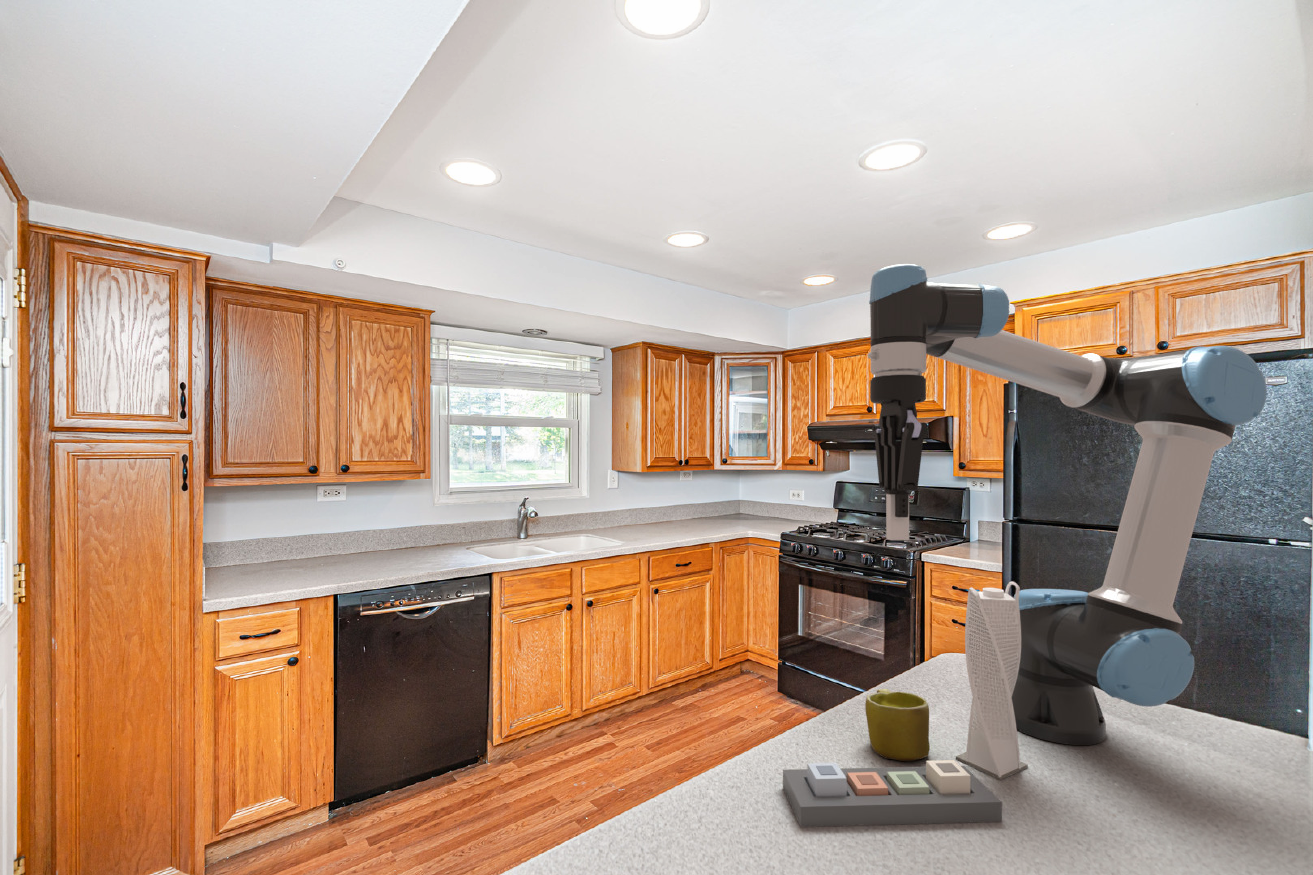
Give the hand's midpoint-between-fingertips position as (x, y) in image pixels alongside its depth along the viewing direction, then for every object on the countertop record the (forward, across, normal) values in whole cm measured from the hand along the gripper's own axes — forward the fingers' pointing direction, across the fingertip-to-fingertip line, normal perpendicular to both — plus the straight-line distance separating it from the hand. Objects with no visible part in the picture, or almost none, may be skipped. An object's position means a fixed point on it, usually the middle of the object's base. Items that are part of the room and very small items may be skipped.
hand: (897, 539), depth 91 cm
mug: (+35, -10, +4) cm, 36 cm away
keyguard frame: (+34, +6, -4) cm, 35 cm away
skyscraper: (+35, -3, +16) cm, 38 cm away
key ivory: (+33, +6, +4) cm, 34 cm away
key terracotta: (+34, +6, -7) cm, 35 cm away
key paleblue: (+33, +6, -12) cm, 36 cm away
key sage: (+34, +6, -1) cm, 35 cm away
